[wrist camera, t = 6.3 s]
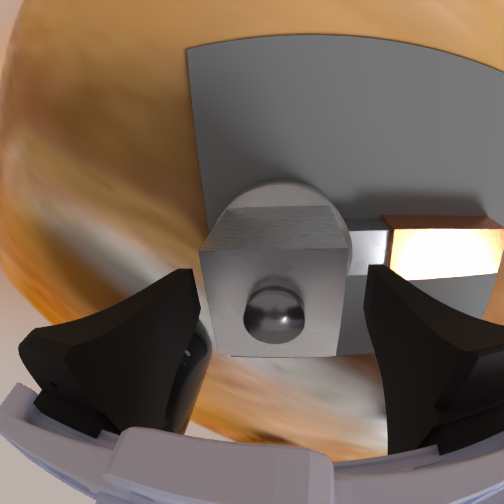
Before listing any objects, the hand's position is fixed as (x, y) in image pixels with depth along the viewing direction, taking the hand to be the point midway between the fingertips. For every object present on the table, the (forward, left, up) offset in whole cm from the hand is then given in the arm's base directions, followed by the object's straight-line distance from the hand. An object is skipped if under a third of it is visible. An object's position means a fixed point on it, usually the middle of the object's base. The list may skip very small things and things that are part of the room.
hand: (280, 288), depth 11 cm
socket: (0, 0, -3) cm, 3 cm away
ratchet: (0, -5, -5) cm, 7 cm away
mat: (+1, -6, -5) cm, 8 cm away
